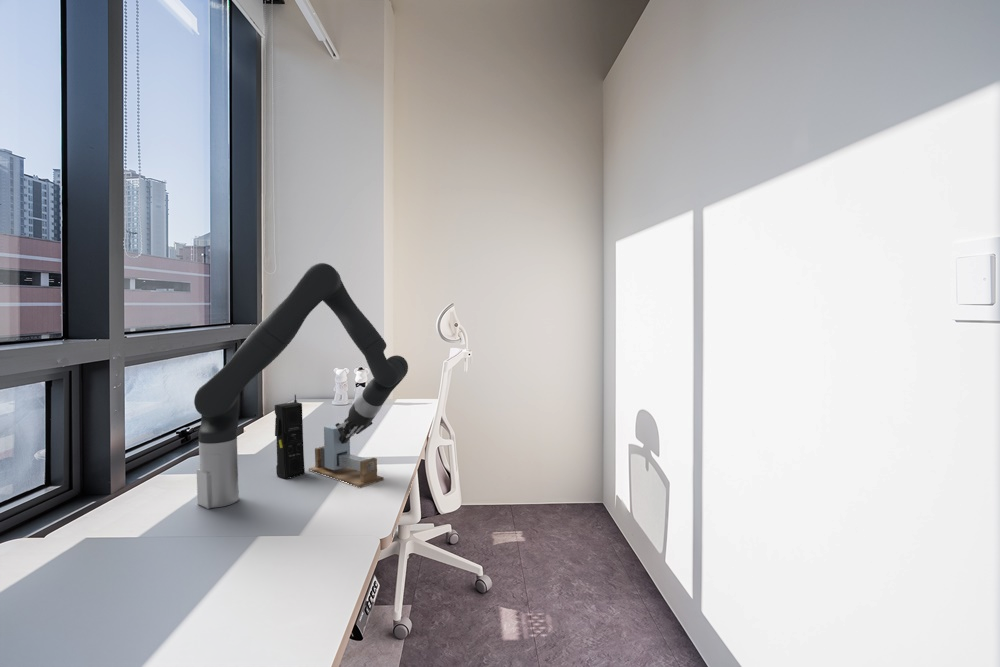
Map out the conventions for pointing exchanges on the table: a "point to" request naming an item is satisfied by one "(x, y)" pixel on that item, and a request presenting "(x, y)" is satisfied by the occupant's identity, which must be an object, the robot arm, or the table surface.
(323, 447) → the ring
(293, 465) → the portable radio
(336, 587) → the table surface
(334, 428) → the sleeve
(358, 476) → the stand
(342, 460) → the white long bar
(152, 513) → the table surface
